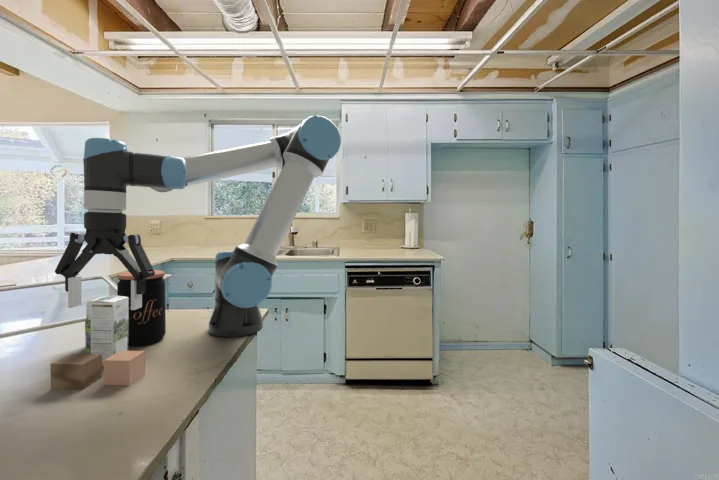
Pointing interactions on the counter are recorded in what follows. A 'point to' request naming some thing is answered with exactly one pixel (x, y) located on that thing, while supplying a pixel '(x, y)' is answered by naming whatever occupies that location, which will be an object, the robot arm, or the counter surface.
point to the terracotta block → (124, 367)
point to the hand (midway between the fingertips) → (105, 307)
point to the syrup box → (107, 325)
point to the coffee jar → (145, 309)
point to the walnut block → (76, 371)
